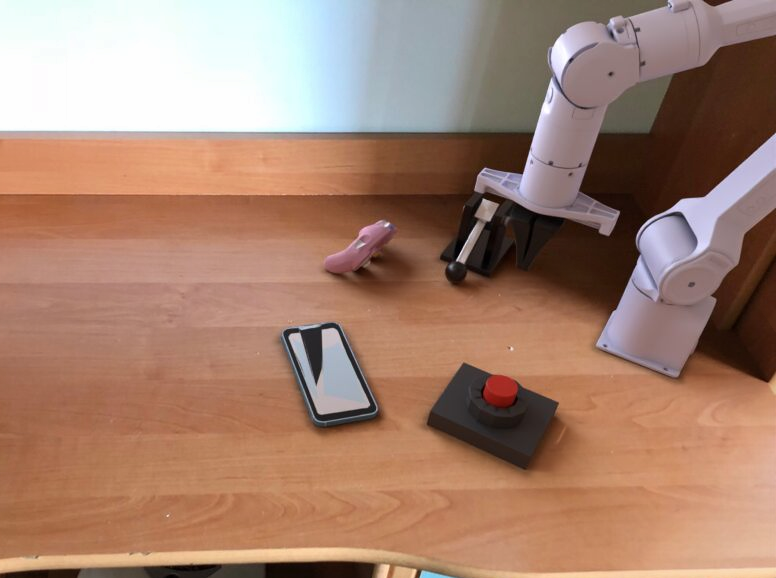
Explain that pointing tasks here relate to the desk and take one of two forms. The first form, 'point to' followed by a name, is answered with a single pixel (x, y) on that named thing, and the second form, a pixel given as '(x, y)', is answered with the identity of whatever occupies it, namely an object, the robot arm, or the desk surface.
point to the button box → (492, 417)
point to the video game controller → (361, 248)
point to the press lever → (472, 241)
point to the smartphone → (328, 374)
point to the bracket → (482, 238)
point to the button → (500, 391)
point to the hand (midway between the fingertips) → (524, 265)
